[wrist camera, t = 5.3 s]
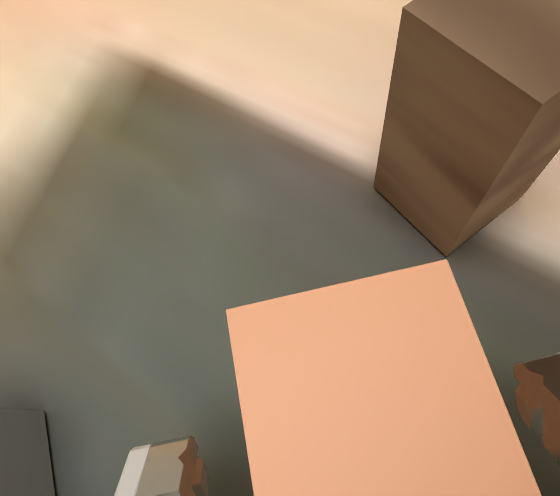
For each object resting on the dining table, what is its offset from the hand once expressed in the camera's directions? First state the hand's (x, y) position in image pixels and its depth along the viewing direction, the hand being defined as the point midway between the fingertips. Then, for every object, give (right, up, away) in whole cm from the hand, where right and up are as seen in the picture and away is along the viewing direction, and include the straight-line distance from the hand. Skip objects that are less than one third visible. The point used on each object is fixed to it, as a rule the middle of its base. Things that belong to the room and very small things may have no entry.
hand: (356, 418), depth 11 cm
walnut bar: (+6, +7, +8) cm, 12 cm away
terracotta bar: (+1, -2, +5) cm, 6 cm away
